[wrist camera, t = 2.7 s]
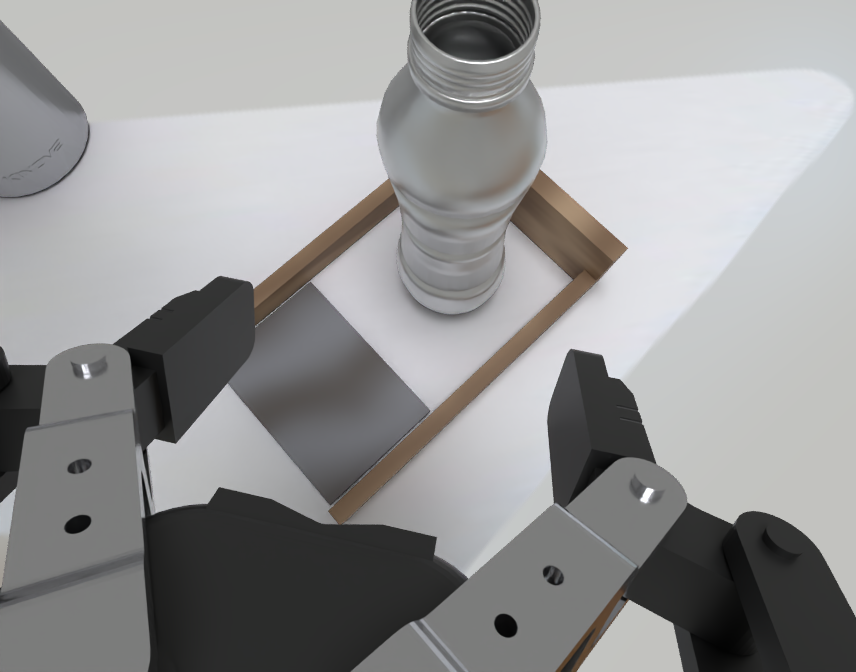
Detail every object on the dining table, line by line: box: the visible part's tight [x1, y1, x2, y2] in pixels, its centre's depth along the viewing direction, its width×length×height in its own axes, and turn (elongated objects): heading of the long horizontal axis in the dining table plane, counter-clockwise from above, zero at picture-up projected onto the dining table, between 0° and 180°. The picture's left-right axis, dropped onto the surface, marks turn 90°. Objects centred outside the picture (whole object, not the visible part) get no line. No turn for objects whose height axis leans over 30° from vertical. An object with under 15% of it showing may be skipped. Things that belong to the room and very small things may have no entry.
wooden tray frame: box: [228, 170, 628, 525], centre depth 30 cm, size 14×22×5 cm, turn 133°
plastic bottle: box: [376, 0, 547, 314], centre depth 24 cm, size 6×7×20 cm
